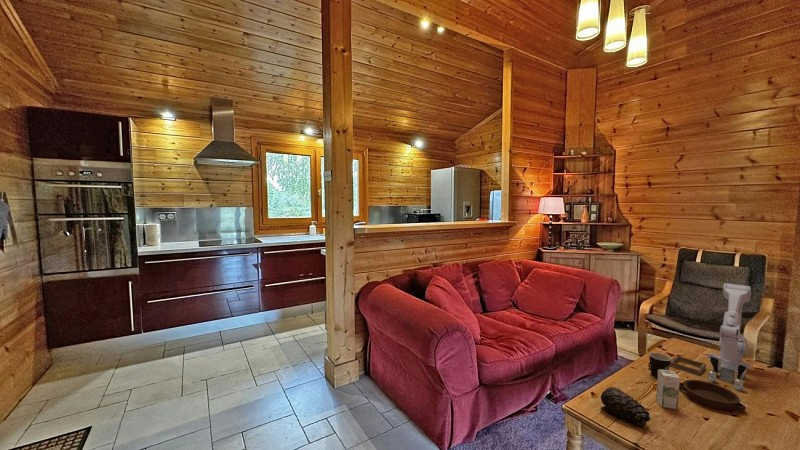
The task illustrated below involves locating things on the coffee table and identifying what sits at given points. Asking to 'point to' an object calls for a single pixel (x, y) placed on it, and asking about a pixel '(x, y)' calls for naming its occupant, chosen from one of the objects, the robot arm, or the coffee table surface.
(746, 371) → the cylinder
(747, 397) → the coffee table surface
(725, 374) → the grey cube
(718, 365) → the cylinder
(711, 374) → the cylinder
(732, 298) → the robot arm
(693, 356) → the coffee table surface
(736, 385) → the cylinder
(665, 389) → the syrup box
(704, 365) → the square frame
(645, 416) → the pine cone
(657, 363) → the coffee mug
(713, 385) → the dish
